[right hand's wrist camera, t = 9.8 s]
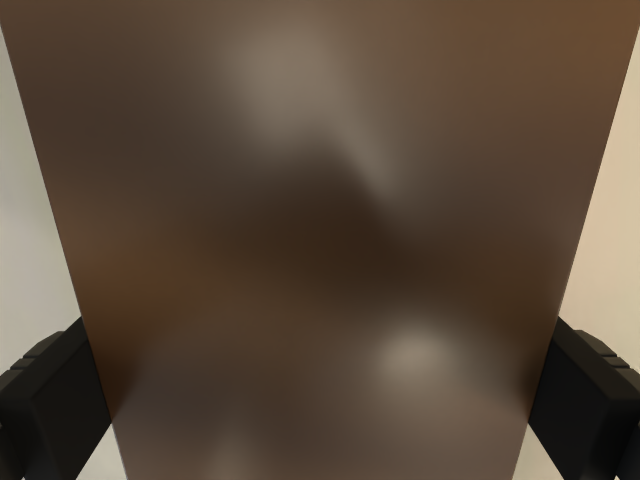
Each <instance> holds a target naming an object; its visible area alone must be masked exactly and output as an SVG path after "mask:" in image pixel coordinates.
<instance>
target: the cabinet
mask: <svg viewBox="0 0 640 480" xmlns="http://www.w3.org/2000/svg"><path fill="white" fill-rule="evenodd" d="M0 25H1V29H2V32H3V36H4V39H5V43H6V47H7V50H8V54H9V57H10V61H11V65H12V68H13V72H14V75H15V79H16V83H17V86H18V90H19V93H20V97H21V101H22V104H23V108H24V111H25V115H26V118H27V122H28V126H29V129H30V133H31V136H32V140H33V144H34V147H35V151H36V154H37V158H38V162H39V165H40V169H41V172H42V176H43V179H44V183H45V187H46V190H47V194H48V197H49V201H50V205H51V208H52V212H53V215H54V219H55V223H56V226H57V230H58V233H59V237H60V241H61V244H62V248H63V251H64V255H65V258H66V262H67V266H68V269H69V273H70V276H71V280H72V284H73V287H74V291H75V294H76V298H77V302H78V305H79V309H80V312H81V316H82V319H83V323H84V327H85V330H86V334H87V337H88V341H89V345H90V348H91V352H92V355H93V359H94V363H95V366H96V370H97V373H98V377H99V381H100V384H101V388H102V391H103V395H104V398H105V402H106V406H107V409H108V413H109V416H110V420H111V424H112V427H113V431H114V434H115V438H116V442H117V445H118V449H119V452H120V456H121V459H122V463H123V467H124V470H125V474H126V477H127V480H512V478H513V474H514V471H515V467H516V464H517V460H518V456H519V453H520V449H521V446H522V442H523V439H524V435H525V432H526V428H527V425H528V421H529V417H530V414H531V410H532V407H533V403H534V400H535V396H536V393H537V389H538V385H539V382H540V378H541V375H542V371H543V368H544V364H545V361H546V357H547V353H548V350H549V346H550V343H551V339H552V336H553V332H554V329H555V325H556V321H557V318H558V314H559V311H560V307H561V304H562V300H563V297H564V293H565V289H566V286H567V282H568V279H569V275H570V272H571V268H572V265H573V261H574V257H575V254H576V250H577V247H578V243H579V240H580V236H581V233H582V229H583V225H584V222H585V218H586V215H587V211H588V208H589V204H590V201H591V197H592V193H593V190H594V186H595V183H596V179H597V176H598V172H599V169H600V165H601V162H602V158H603V154H604V151H605V147H606V144H607V140H608V137H609V133H610V130H611V126H612V122H613V119H614V115H615V112H616V108H617V105H618V101H619V98H620V94H621V90H622V87H623V83H624V80H625V76H626V73H627V69H628V66H629V62H630V58H631V55H632V51H633V48H634V44H635V41H636V37H637V34H638V30H639V26H640V0H0Z"/></svg>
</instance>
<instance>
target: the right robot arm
mask: <svg viewBox="0 0 640 480" xmlns="http://www.w3.org/2000/svg"><path fill="white" fill-rule="evenodd" d="M528 423H529V425H530V427H531V428H532V430H533V431H534V433H535V435H536V436H537V438H538V439H539V441H540V442H541V444H542V446H543V447H544V449H545V450H546V452H547V453H548V455H549V457H550V458H551V460H552V461H553V463H554V465H555V466H556V468H557V469H558V471H559V472H560V474H561V476H562V477H563V479H564V480H614V479H615V477H616V475H617V477H618V478H619V479H620V480H640V374H639V373H637V372H636V371H635V370H634V369H630V366H629V365H628V364H627V363H626V362H625V361H624V360H623V359H621V358H620V357H617V354H616V353H615V352H613V351H612V350H611V349H610V348H609V347H608V346H607V345H605V344H604V343H603V342H602V341H600V340H599V339H597V338H595V337H593V336H591V335H590V334H588V333H586V332H584V331H583V330H573V329H572V328H571V327H570V326H569V325H568V324H567V323H565V322H564V321H563V320H562V319H561V318H560V317H559V316H558V318H557V321H556V325H555V329H554V332H553V336H552V339H551V343H550V346H549V350H548V353H547V357H546V361H545V364H544V368H543V371H542V375H541V378H540V382H539V385H538V389H537V393H536V396H535V400H534V403H533V407H532V410H531V414H530V417H529V421H528ZM110 424H111V420H110V416H109V413H108V409H107V406H106V402H105V398H104V395H103V391H102V388H101V384H100V381H99V377H98V373H97V370H96V366H95V363H94V359H93V355H92V352H91V348H90V345H89V341H88V337H87V334H86V330H85V327H84V323H83V319H82V316H81V317H80V318H78V319H77V320H76V321H75V322H74V323H73V324H72V325H71V326H70V327H69V328H68V329H67V330H66V331H58V332H56V333H54V334H53V335H51V336H49V337H47V338H45V339H44V340H42V341H40V342H38V343H37V344H36V345H35V346H34V347H33V348H31V349H30V350H29V351H28V352H27V353H26V354H25V355H24V356H23V358H22V359H19V360H18V361H17V362H16V363H14V364H13V365H12V366H11V367H10V370H7V371H5V372H4V373H3V374H2V375H1V376H0V480H21V479H22V478H23V477H24V478H25V480H76V478H77V477H78V475H79V473H80V472H81V470H82V469H83V467H84V466H85V464H86V462H87V461H88V459H89V458H90V456H91V454H92V453H93V451H94V450H95V448H96V447H97V445H98V443H99V442H100V440H101V439H102V437H103V436H104V434H105V432H106V431H107V429H108V428H109V426H110Z"/></svg>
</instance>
